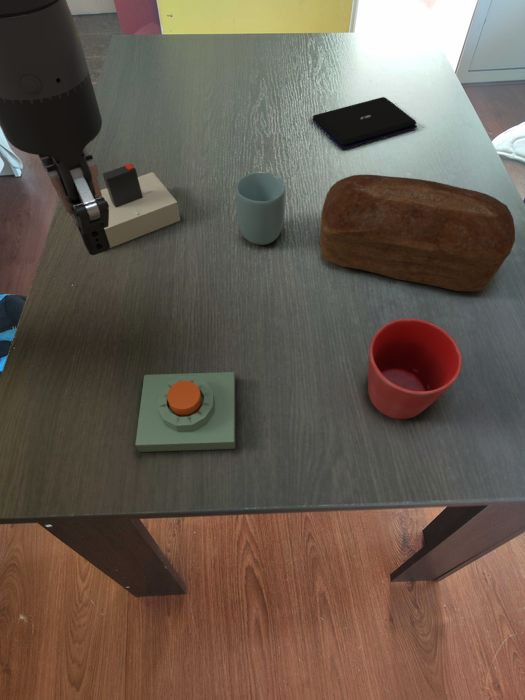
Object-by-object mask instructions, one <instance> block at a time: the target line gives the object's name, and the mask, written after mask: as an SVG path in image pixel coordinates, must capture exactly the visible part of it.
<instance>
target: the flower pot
mask: <svg viewBox="0 0 525 700" xmlns="http://www.w3.org/2000/svg"><path fill="white" fill-rule="evenodd" d="M367 362H368V363H367V364H368V366H367V368H368V371H367V373H368V375H367V378H368V379H367V382H368V383H367V384H368V385H367V390H368V396H369V400H370V402H371V403H372V405H373V407H374V408H375V409H377V410H378V411H379V412H380V413H381V414H383V415H384V416H387V417H389V418H391V419H396V420H407V419H411V418H414V417H416V416H418V415H419V414H421V413H422V412H423V411H425V410H426V409H427V408H428V407H430V406H431V405H432V404H433V403H434V402H435V401H437V399H438V398H440V397H441V396H442V395H443V394H444V393H445V392H446V391H447V390H448V389H449V388H450V387H451V386H453V384H454V383H455V382H456V381H457V379H459V376H460V374H461V371H462V366H463V356H462V353H461V349H460V347H459V345H458V343H457V341H456V340H455V338H453V336H451V335H450V333H449V332H447V331H446V330H444V329H443V328H442V327H441V326H439V325H437V324H435V323H432V322H430V321H429V320H428V321H427V320H424V319H420V318H411V317H410V318H409V317H408V318H407V317H405V318H399V319H395V320H391V321H390V322H387V323H385V324H384V325H382V326H381V327H380V328H379V329H378V330H376V332H375V333H374V335H373V337H372V339H371V340H370V344H369V349H368V361H367Z"/></svg>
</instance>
